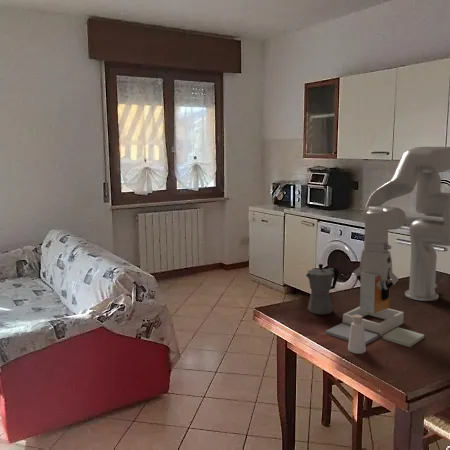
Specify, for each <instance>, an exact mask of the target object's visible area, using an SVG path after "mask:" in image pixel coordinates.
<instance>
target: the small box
mask: <svg viewBox="0 0 450 450" xmlns="http://www.w3.org/2000/svg"><path fill="white" fill-rule="evenodd" d="M388 280H389V282H391V279H388ZM385 282H386V281H385ZM359 287H360V290H359V292H360V296H359V307H360V309H363V310H366V311H369V312H372V313H376V312H379V311H382V310H385V309H388V308H389V309H390V295H391V294H390V293H391V292H390V290H391V287H390V288H389V298H388V299H386V300H385V301H383V300H382V289H384V288H383V285H382V283H381V281H380V276H379V275H375V274H370V273H365V272H362V273H361V284H360V286H359Z"/></svg>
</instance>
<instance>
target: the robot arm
mask: <svg viewBox="0 0 450 450" xmlns="http://www.w3.org/2000/svg"><path fill="white" fill-rule="evenodd" d="M447 171H450V146H415V147H412V148H411V149H408V150H407V149H406V150H405V151H404V152H403V153H402V155H401V156H400V159H399V160H398V162H397V165H396V167H395V169H394V171H393V174H392V176H391V179H390V180H389V181H388V182H386V183H384V184H382V185H380V186H379V187H378V188H377V189H375V190H374V191H373V192H372V193H371V194H370V196H369V198H368V199H367V201H366V204H365V206H364V209H363V211H362V217H361V219H362V221H363V223H364V246H363V247H364V248H363V249H362V251H361V256H360V260H359V261H360V262H359V267H358V268H356V269H354V270H353V274H354V276H356V278H357V280H358V281H359V284H360V285H361V273H362V272H365V273H370V274H375V275H379V276H380V281H381V283H382V285H383V288H384V289H382V300H383V301H385V300H386V299H388V298H389V299H390V297H389V288H390V289H391V288H392V287H393V286H394V285H395V284H396V283H397V282H398V281H399V278H398V276H396V275H395V273H394V272H393V260H392V255H391V251H390V250H392V245H390V244H389V231H390V230H393V231H394V230H398V229H401V228H402V227H403V226H404V225H405V223H406V220H407V215H406V212H405V211H404V210H403V209H402V208H399V207H396V206H395V207H394V206H384V205H383V204H385V203H386V202H388V201H390V200H394V199H397V198H399V197H403V196H406V195H409V194H411V193H412V192H413V191H414V189H415V187H416V196H415V197H416V198H415V211H416V212H417V214H418V215H421V216H424V217H425V216H426V217H436V218H442V219H443V220H439V219H438V220H436V219H430V218H429V219H428V218H418V219H417V218H416V219H415V220H413V221H412V222H411V223H410V225H409V239H410V262H409V263H410V264H409V265H410V266H409V270H410V271H409V283H408V284H409V285H408V286H409V288H408V289H407V290H406V291H404V295H405V297H407V298H408V299H411V300H415V301H421V302H433V301H437V300H438V299H439V294H438V293H437V292H436V288H437V287H438V284H437V283H436V277H437V276H436V273H437V257H438V256H437V252H436V249H435V247H434V246H443V247H450V192H442V191H441V190H442V189H441V187H442V178H441V176H440V173H443V172H444V173H445V172H447ZM388 279H390V282H389V280H388ZM385 281H386V282H385Z"/></svg>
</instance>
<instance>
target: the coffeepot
mask: <svg viewBox="0 0 450 450" xmlns="http://www.w3.org/2000/svg"><path fill="white" fill-rule="evenodd" d="M323 264H324V263H319V264H318V268H312V269H310V270H308V271H307V274H306V276H305V277H307V278H308V281H309V283H308V284H309V289H310V291H311V293H310V295H309V298H308V299H309V301H308V306H307V310H308V311H309V313H312V314H314V315H328V314H331V313H332V312H333V304H332V298H331V293H330V290H333V289H336V286H337V281H338V277H339V275H340V271H339V270H338V268H337V267H329V268H327V269H326V268H323V267H324V265H323Z"/></svg>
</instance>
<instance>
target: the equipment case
mask: <svg viewBox="0 0 450 450" xmlns="http://www.w3.org/2000/svg"><path fill="white" fill-rule="evenodd" d="M404 314H405V312H404V311H402V310H401V311H400V310H397V309H393V308H390V307H389V308H388V309H385V310H382V311H379V312H376V313H372V312H369V311H366V310H363V309H360V306H358V307H356V308H353V309H351V310H349V311H347V312H345V313H342V322H341V323H339V324H337V325H334V326H332V327H331V328H329V329H326V330H325V334H326V335H329V336H332V337H334V338H338V339H341V340H345V341H347V342H349V336H350V329H351V323H353V315H361V316H362V317H363V318H362V323H363V325H364V333H365V346H366V345H368V344H369V343H371V342H374V341H375V340H377V339H379V338H381V337H383V336H384V335H385V334H387V333H389V332H390V331H392V330H394V329H396V328H397V327H399V326H401V325H403V324H404ZM366 316H371V317H375V318H379V319H383V320H382V321H381V322H376V321H373V320H368V319H366V318H364V317H366Z"/></svg>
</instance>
